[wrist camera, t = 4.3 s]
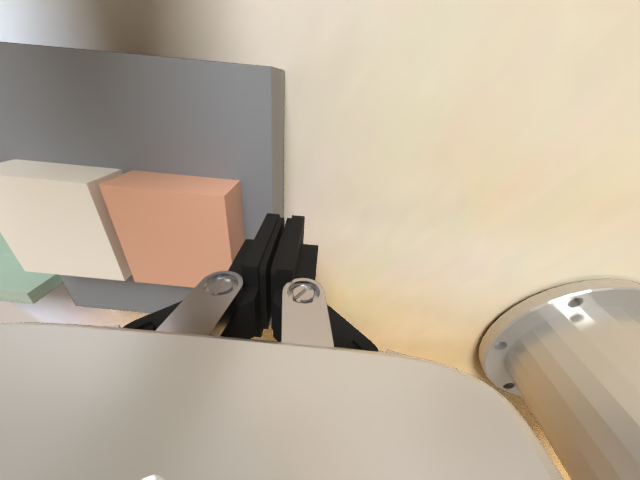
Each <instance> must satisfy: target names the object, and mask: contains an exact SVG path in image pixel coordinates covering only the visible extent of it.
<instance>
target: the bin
mask: <svg viewBox="0 0 640 480" xmlns="http://www.w3.org/2000/svg"><path fill="white" fill-rule="evenodd" d="M62 283H63V281H62V280H61V278H60V276H59V275H58V274H48V273H37V272H27V271H24V269H23V267H22V266H21V264H20V263H19V261H18V260H17V258H16V256H15V255H14V253H13V252H12V250H11V249H10V247H9V245H8V244H7V242H6V241H5V239H4V238H3V236H2V234H1V233H0V301H10V302H21V303H31V304H34V303H35V302H37V301H38V300H39V299H41V298H42V297H44V296H45V295H46V294H48V293H49V292H50V291H52V290H53V289H55V288H56V287H57V286H59V285H60V284H62Z"/></svg>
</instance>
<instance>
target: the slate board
mask: <svg viewBox="0 0 640 480" xmlns="http://www.w3.org/2000/svg"><path fill="white" fill-rule="evenodd" d="M14 159H18V160H29V161H39V162H50V163H61V164H71V165H82V166H92V167H103V168H114V169H122V171H123V174H125V173H127V172H130V171H132V170H135V171H146V172H156V173H167V174H177V175H188V176H199V177H209V178H220V179H231V180H240V184H241V197H242V209H243V221H244V234H245V240H246V239H253V240H254V238H255V236H256V234H257V232H258V230H259V228H260V226H261V224H262V222H263V220H264V218H265V216H266V214H267V213H272V214H280V217H281V218H283V212H284V70H281V69H278V68H274V67H271V66H260V65H249V64H238V63H227V62H216V61H205V60H194V59H183V58H172V57H161V56H151V55H140V54H129V53H118V52H107V51H96V50H85V49H74V48H63V47H52V46H41V45H30V44H19V43H8V42H0V163H1V162H5V161H9V160H14ZM59 276H60V278H61V280H62V281H63V283H64V285H65V287H66V289H67V290H68V292H69V294H70V296H71V298H72V299H73V301H74V303H75V305H76V306H83V307H94V308H104V309H114V310H124V311H135V312H145V313H154V312H156V311H159V310H161V309H163V308H166V307H168V306H171V305H173V304H175V303H178V302H180V301H183V300H184V299H185V298H186V297H187V296H188V294H189V293H190V292H191V291H192V290H193V289H194V288H192V287H182V286H172V285H161V284H151V283H141V282H135V281H134V278H133V275H131V276H130V277H129V278H128V279H126V280H125V281H120V280H110V279H99V278H89V277H79V276H68V275H59ZM269 325H272V324H271V320H270V324H269Z"/></svg>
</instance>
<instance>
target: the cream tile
mask: <svg viewBox="0 0 640 480" xmlns="http://www.w3.org/2000/svg"><path fill="white" fill-rule="evenodd" d="M120 175H123V171H122V169H114V168H103V167H92V166H82V165H71V164H61V163H50V162H39V161H29V160H18V159H14V160H9V161H5V162H1V163H0V233H1V234H2V236H3V238H4V239H5V241H6V242H7V244H8V245H9V247H10V249H11V250H12V252H13V253H14V255H15V256H16V258H17V260H18V261H19V263H20V264H21V266H22V267H23V269H24V271H27V272H37V273H48V274H58V275H68V276H79V277H89V278H99V279H110V280H120V281H125V280H126V279H128V278H129V277H130V276H131V275H132V273H131V270H130V267H129V265H128V262H127V259H126V257H125V254H124V251H123V249H122V246H121V243H120V240H119V238H118V235H117V232H116V230H115V227H114V224H113V222H112V219H111V216H110V214H109V211H108V208H107V205H106V203H105V200H104V197H103V195H102V192H101V189H100V187H99V184H101V183H103V182H106V181H108V180H111V179H113V178H115V177H118V176H120Z"/></svg>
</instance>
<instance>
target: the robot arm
mask: <svg viewBox="0 0 640 480" xmlns="http://www.w3.org/2000/svg"><path fill="white" fill-rule="evenodd" d="M304 219H305V217H304V216H293V215H292V218H287V221H286V224H285V227H284V218H281V217H280V214H272V213H267V214H266V216H265V218H264V220H263V222H262V224H261V226H260V228H259V230H258V232H257V234H256V236H255V238H254V240H253V239H246V240H245V241H244V243H243V245H242V246H241V248H240V250H239V252H238V253H237V255H236V257H235V259H234V261H233V262H232V264H231V266H230V268H229V270H228V271H218V272H215V273H212V274H210V275H208V276H206V277H205V278H204V279H202V280H201V281H200V282H199V284H198V285H197V286H196V287H195V288H194V289H193V290H192V291H191V292H190V293H189V294H188V296H187V297H186V298H185V299H184V300H183V301H180V302H178V303H175V304H173V305H171V306H168V307H166V308H163V309H161V310H159V311H156V312H154V313H151V314H149V315H147V316H144V317H142V318H139V319H137V320H135V321H133V322H131V323H129V324H127V325H126V326H124V327H123V328H121V327H120V325H115V326H91V325H77V324H58V323H37V322H33V323H32V322H30V323H3V324H0V480H564V479H563V477H562V476H561V474H560V472H559V471H558V469H557V467H556V466H555V464H554V463H553V461H552V459H551V458H550V456H549V455H548V453H547V452H546V450H545V448H544V447H543V445H542V444H541V442H540V441H539V439H538V438H537V437H536V435H535V434H534V432H533V431H532V429H531V428H530V426H529V425H528V423H527V422H526V421H525V419H524V418H523V417H522V416H521V414H520V413H519V412H518V411H517V409H516V408H515V407H514V406H513V405H512V404H511V403H510V402H509V401H508V400H507V399H506V398H505V397H504V396H503V395H502V394H501V393H499V392H498V391H497V390H495V389H494V388H493V387H491V386H490V385H488V384H486V383H485V382H483V381H481V380H479V379H478V378H476V377H474V376H472V375H470V374H467V373H465V372H463V371H460V370H458V369H456V368H453V367H451V366H447V365H444V364H441V363H438V362H435V361H431V360H427V359H422V358H418V357H413V356H408V355H405V354H401V353H398V352H394V351H391V350H388V349H387V351H386V352H382V351H379V350H378V349H377V347H376V346H375V345H374V344H373V343H372V342H371V341H370V340H369V339H368V338H366V337H365V336H364V335H363V334H362V333H360V332H359V331H358V330H357V329H356V328H354V327H353V326H352V325H351V324H350V323H349V322H347V321H346V320H345V319H344V318H343V317H341V316H340V315H339V314H338V313H337V312H335V311H334V310H333V309H332V308H331V307H329V306H328V305H327V303H326V297H325V292H324V289H323V287H322V286H321V285H320V283H318V282H316V281H315V276H316V264H317V253H318V245H307V244H303V237H304ZM270 320H271V324H272V329H273V337H274V338H275V339H276V340H277V341H278V342H275V341H265V340H254V339H251V338H252V337H261V336H262V332H263V329H268V327H269V324H270ZM478 357H479V361H480V364H481V367H482V368H483V370H484V372H485V374H486V376H487V378H488V379H489V380H490V381H491V382H492V383H493V384H494V385H495V386H496V387H498V388H499V389H501V390H503V391H506V392H508V393H511V394H513V395H517V396H522V398H523V399H524V401H525V403H526V405H527V406H528V408H529V410H530V411H531V413H532V415H533V416H534V418H535V420H536V421H537V423H538V425H539V426H540V428H541V430H542V431H543V433H544V435H545V436H546V438H547V440H548V442H549V443H550V445H551V447H552V448H553V450H554V452H555V453H556V455H557V457H558V458H559V460H560V462H561V463H562V465H563V467H564V468H565V470H566V472H567V473H568V475H569V477H570V478H571V480H640V283H636V282H633V281H629V280H618V279H598V280H586V281H581V282H575V283H569V284H565V285H562V286H559V287H555V288H552V289H548V290H546V291H544V292H541V293H539V294H536V295H534V296H532V297H529V298H528V299H526V300H524V301H522V302H521V303H519V304H517V305H515V306H514V307H512V308H511V309H509V310H508V311H507V312H505V313H504V314H503V315H501V316H500V317H499V318H498V319H497V320H496V321H495V322H494V323H493V324H492V325H491V326H490V328H489V329H488V331H487V332H486V334H485V335H484V337H483V338H482V341H481V344H480V346H479V356H478Z"/></svg>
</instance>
